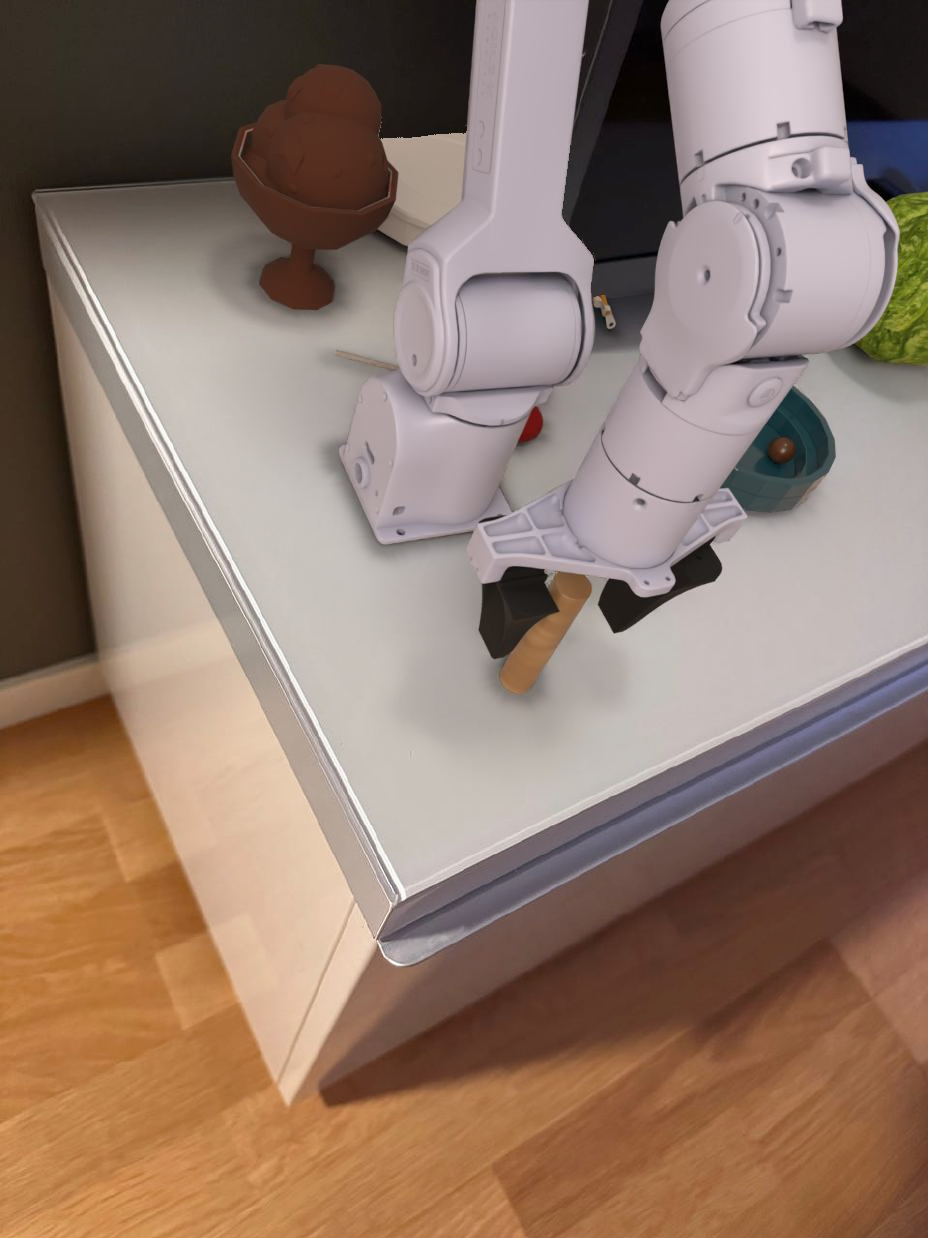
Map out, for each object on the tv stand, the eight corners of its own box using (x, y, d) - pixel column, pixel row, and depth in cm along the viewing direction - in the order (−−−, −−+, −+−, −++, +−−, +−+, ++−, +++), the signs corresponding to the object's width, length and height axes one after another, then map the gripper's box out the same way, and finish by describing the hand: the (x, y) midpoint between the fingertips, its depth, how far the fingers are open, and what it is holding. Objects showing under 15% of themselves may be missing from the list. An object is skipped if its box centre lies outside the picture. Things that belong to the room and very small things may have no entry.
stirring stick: (508, 697, 53) (565, 603, 46) (493, 668, 54) (547, 571, 47) (538, 689, 54) (598, 596, 47) (523, 660, 55) (580, 564, 48)
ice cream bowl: (207, 235, 70) (224, 18, 58) (354, 245, 74) (396, 45, 63) (232, 331, 65) (255, 114, 53) (388, 336, 69) (441, 136, 57)
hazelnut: (763, 446, 73) (789, 442, 73) (767, 469, 72) (794, 466, 72) (768, 433, 71) (795, 430, 71) (773, 457, 71) (800, 454, 70)
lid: (594, 224, 86) (606, 193, 83) (450, 290, 74) (460, 256, 71) (453, 126, 90) (461, 93, 87) (297, 173, 78) (301, 137, 76)
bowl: (707, 528, 66) (732, 494, 64) (619, 396, 72) (639, 360, 70) (841, 504, 72) (869, 473, 70) (749, 384, 78) (772, 351, 76)
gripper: (560, 547, 36) (462, 722, 47) (834, 503, 42) (693, 665, 53) (487, 415, 39) (411, 606, 50) (752, 393, 46) (634, 566, 56)
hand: (552, 630), depth 52 cm, fingers open, 7 cm apart
